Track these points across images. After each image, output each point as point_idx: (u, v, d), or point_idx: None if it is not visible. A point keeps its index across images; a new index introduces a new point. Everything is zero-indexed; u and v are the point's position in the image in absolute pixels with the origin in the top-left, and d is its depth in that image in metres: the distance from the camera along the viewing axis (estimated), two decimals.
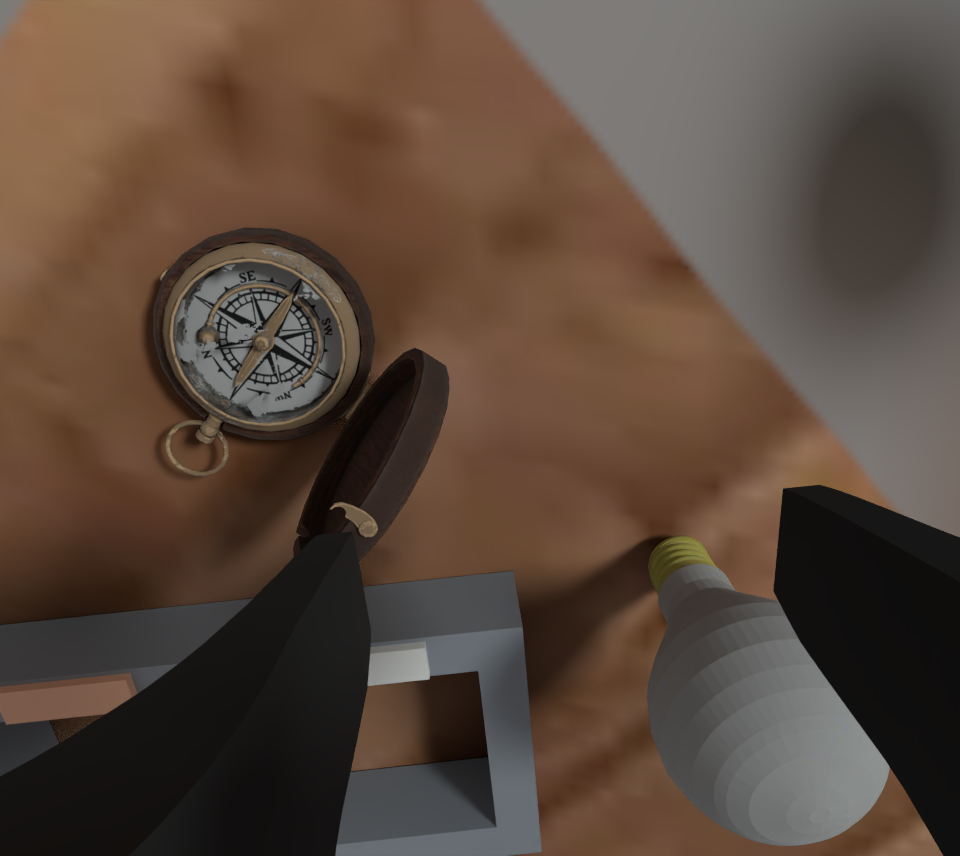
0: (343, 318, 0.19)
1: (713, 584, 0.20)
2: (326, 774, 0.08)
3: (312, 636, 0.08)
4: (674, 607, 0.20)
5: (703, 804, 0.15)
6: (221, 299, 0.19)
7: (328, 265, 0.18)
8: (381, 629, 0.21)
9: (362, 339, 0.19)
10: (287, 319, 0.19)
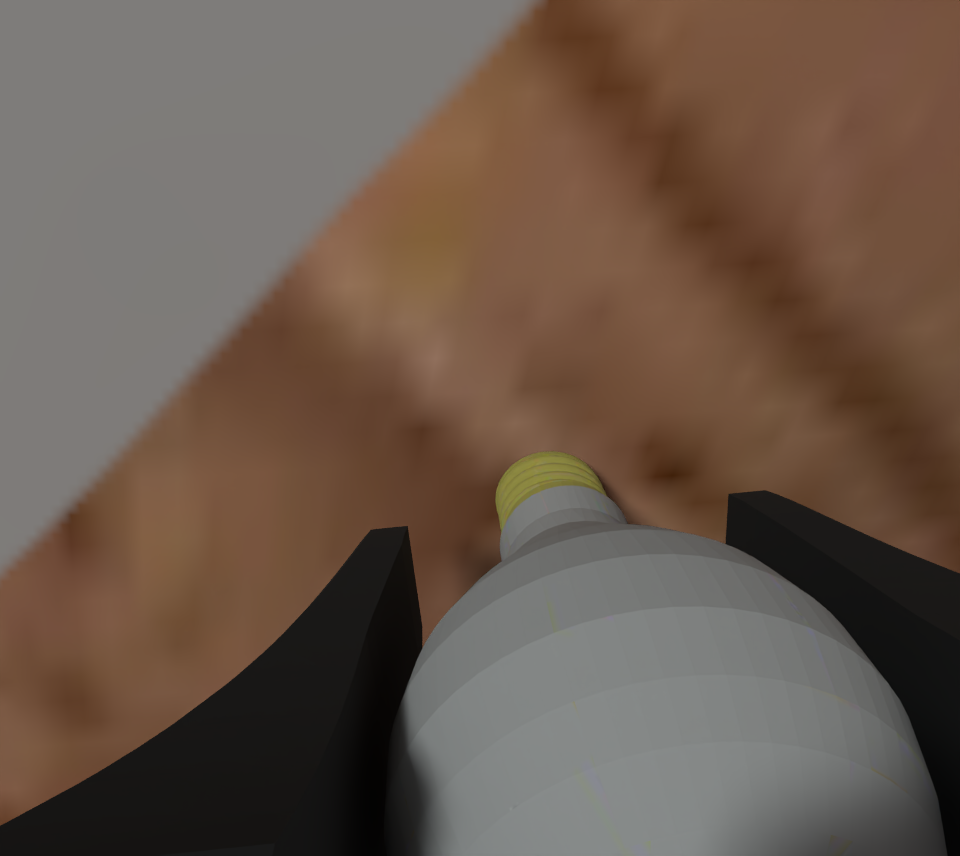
0: None
1: None
2: None
3: (383, 629, 0.08)
4: None
5: None
6: None
7: None
8: None
9: None
10: None
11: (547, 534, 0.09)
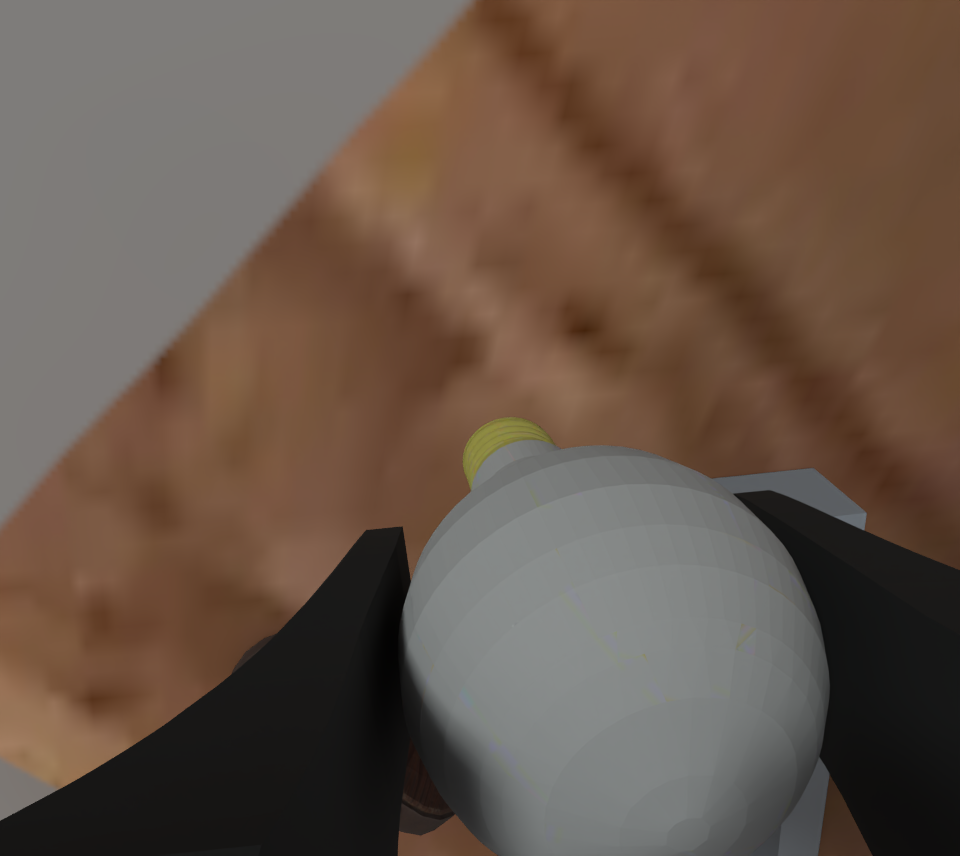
0: None
1: None
2: (389, 767, 0.08)
3: (376, 630, 0.08)
4: None
5: None
6: None
7: None
8: None
9: None
10: None
11: None
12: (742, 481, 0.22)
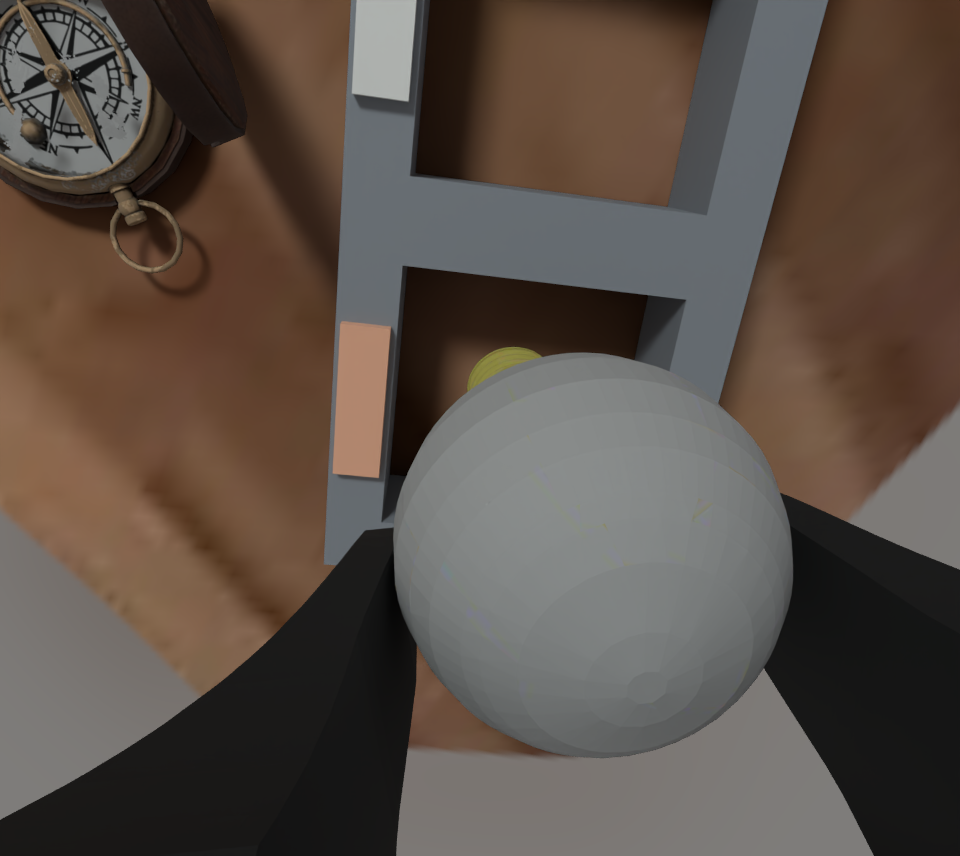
0: None
1: None
2: (388, 768, 0.08)
3: (375, 631, 0.08)
4: None
5: None
6: None
7: None
8: None
9: None
10: (50, 33, 0.16)
11: None
12: None
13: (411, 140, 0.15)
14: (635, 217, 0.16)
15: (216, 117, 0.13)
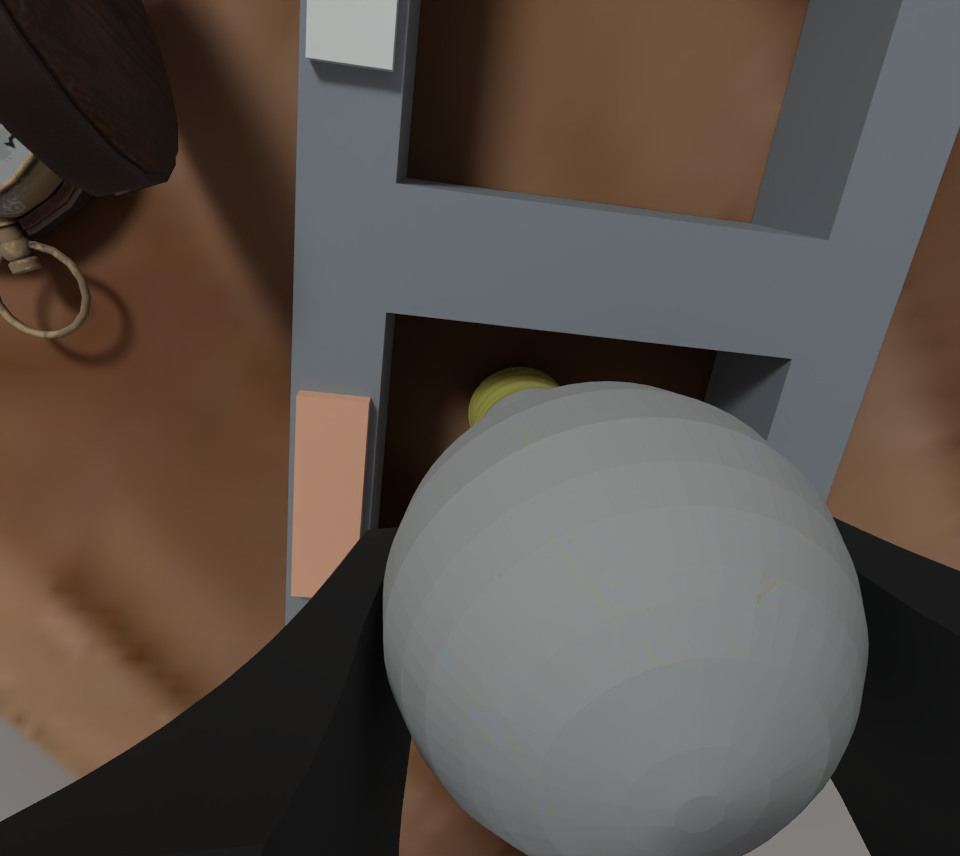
0: None
1: None
2: (390, 767, 0.08)
3: (378, 630, 0.08)
4: None
5: None
6: None
7: None
8: None
9: None
10: None
11: None
12: None
13: (397, 130, 0.10)
14: (725, 243, 0.11)
15: (109, 163, 0.08)
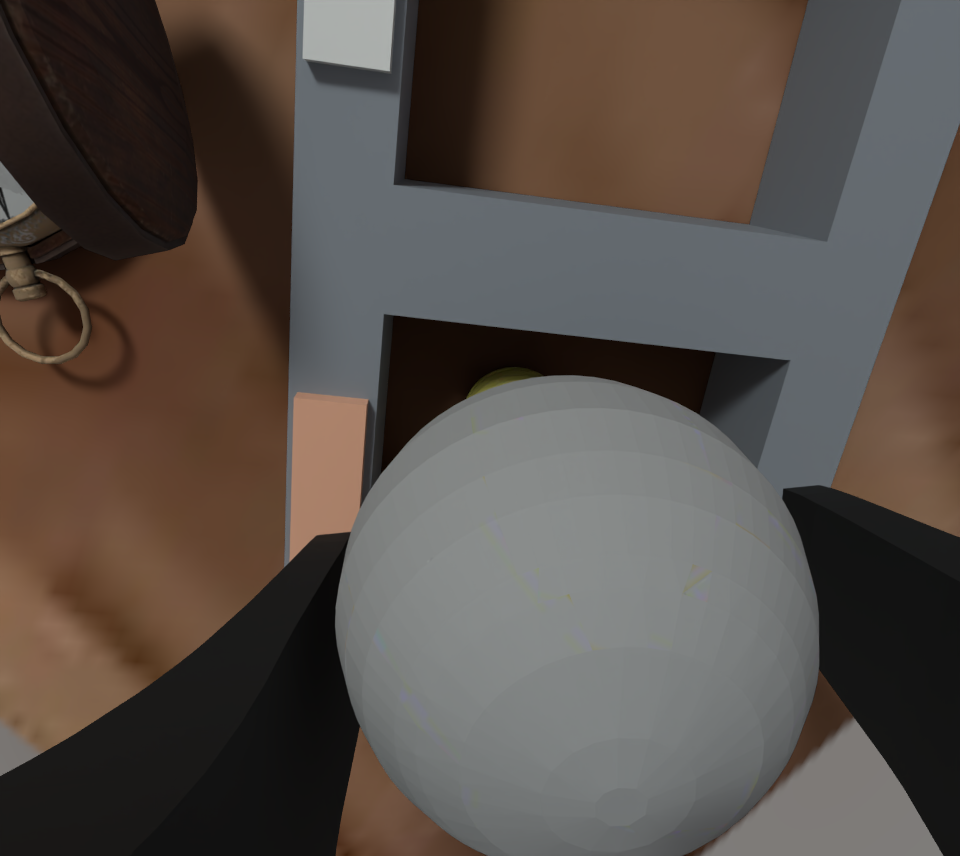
0: None
1: None
2: (326, 774, 0.08)
3: (311, 636, 0.08)
4: None
5: None
6: None
7: None
8: None
9: None
10: None
11: None
12: None
13: (395, 131, 0.10)
14: (723, 245, 0.11)
15: (133, 238, 0.08)
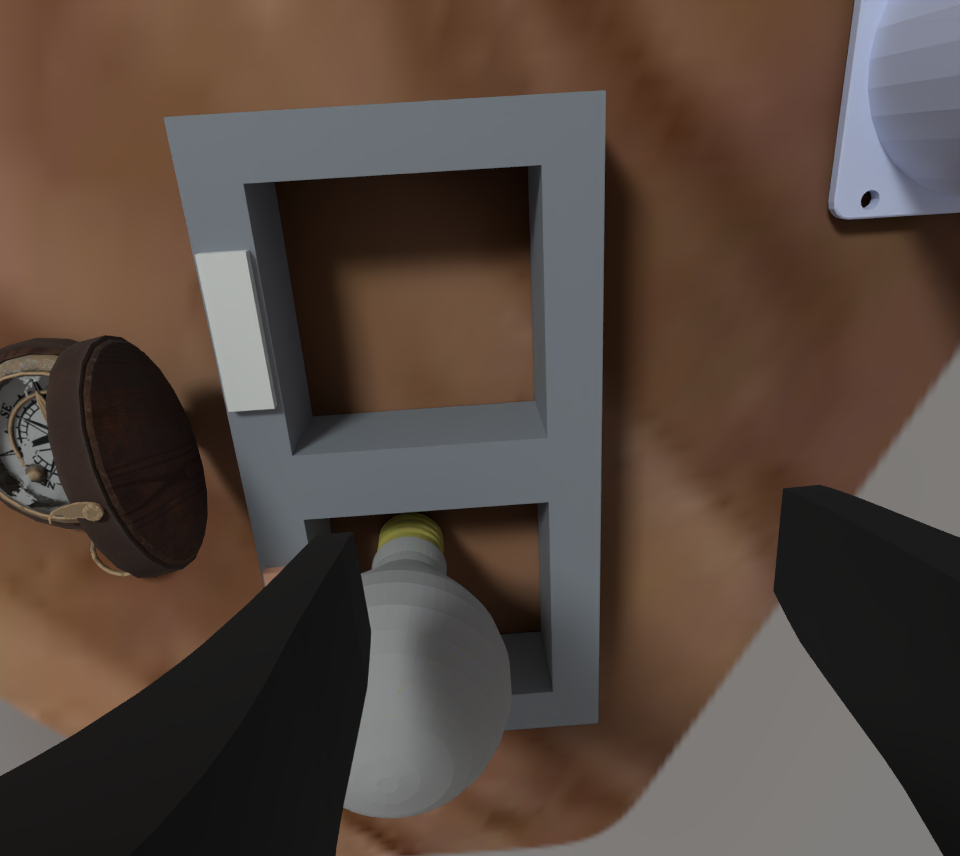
0: None
1: None
2: (326, 774, 0.08)
3: (312, 636, 0.08)
4: None
5: None
6: (11, 441, 0.20)
7: (28, 348, 0.19)
8: None
9: None
10: None
11: None
12: None
13: (286, 431, 0.18)
14: (487, 450, 0.19)
15: (178, 568, 0.17)
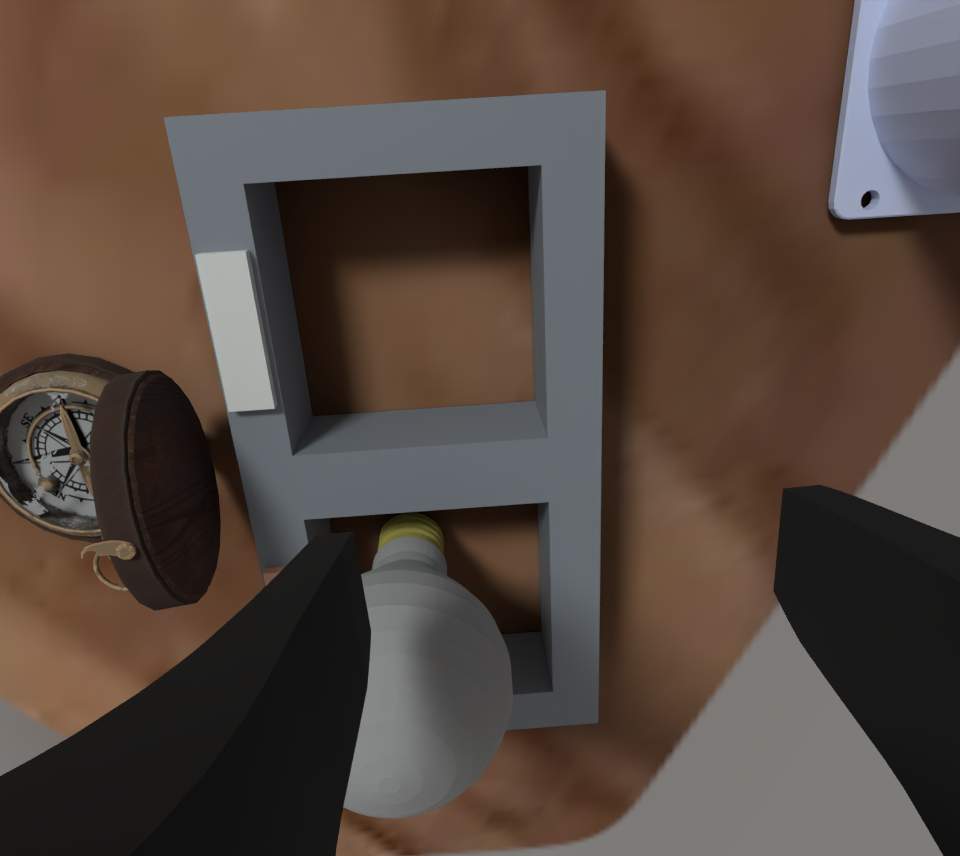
0: (99, 393, 0.19)
1: None
2: (326, 774, 0.08)
3: (312, 636, 0.08)
4: None
5: None
6: (28, 450, 0.20)
7: (59, 364, 0.19)
8: None
9: None
10: (81, 426, 0.20)
11: None
12: None
13: (286, 431, 0.18)
14: (487, 450, 0.19)
15: None
